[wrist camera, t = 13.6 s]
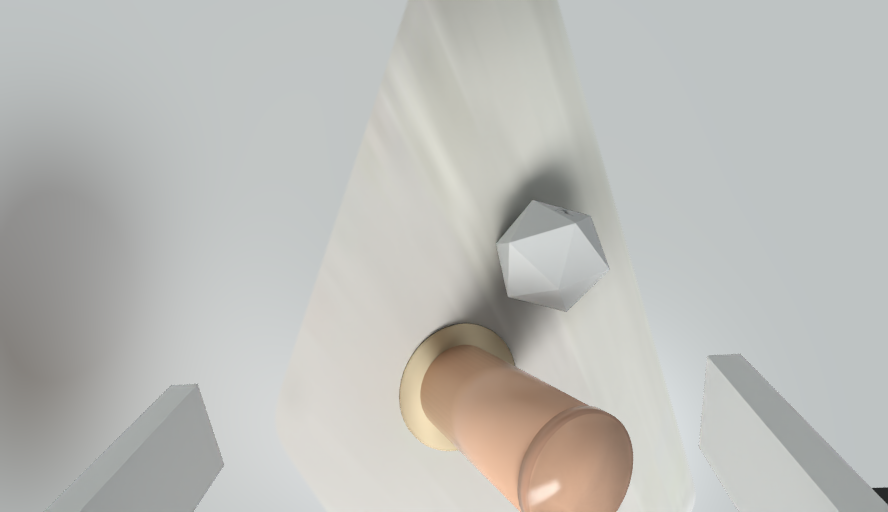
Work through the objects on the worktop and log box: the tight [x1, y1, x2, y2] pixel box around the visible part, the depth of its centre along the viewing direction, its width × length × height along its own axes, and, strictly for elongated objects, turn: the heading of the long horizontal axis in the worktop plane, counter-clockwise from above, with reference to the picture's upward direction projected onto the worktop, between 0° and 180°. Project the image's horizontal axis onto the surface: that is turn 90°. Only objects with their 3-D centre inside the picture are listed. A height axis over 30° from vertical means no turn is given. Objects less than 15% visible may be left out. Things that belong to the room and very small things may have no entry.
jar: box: [420, 345, 633, 512], centre depth 34 cm, size 8×8×15 cm
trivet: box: [399, 323, 515, 451], centre depth 41 cm, size 11×11×1 cm
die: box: [496, 200, 610, 312], centre depth 39 cm, size 8×9×10 cm
